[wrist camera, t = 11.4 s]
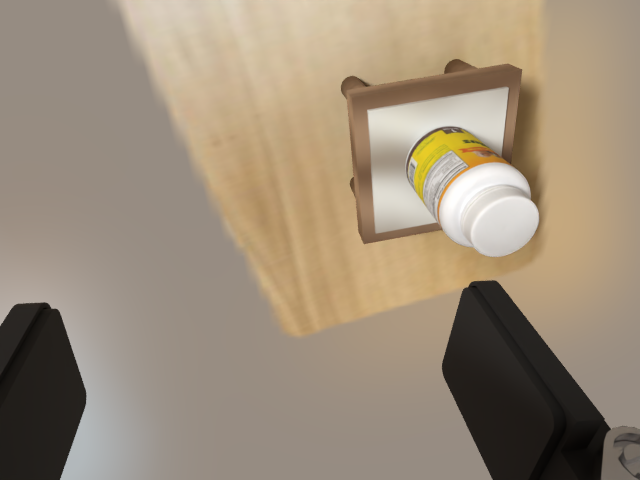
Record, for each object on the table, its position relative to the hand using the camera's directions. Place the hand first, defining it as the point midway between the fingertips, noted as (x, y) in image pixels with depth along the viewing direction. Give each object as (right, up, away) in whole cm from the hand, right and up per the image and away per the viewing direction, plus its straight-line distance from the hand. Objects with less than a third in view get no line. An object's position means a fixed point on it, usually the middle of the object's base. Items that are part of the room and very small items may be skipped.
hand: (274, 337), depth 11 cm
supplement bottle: (+10, +8, +23) cm, 26 cm away
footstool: (+9, +12, +30) cm, 34 cm away
